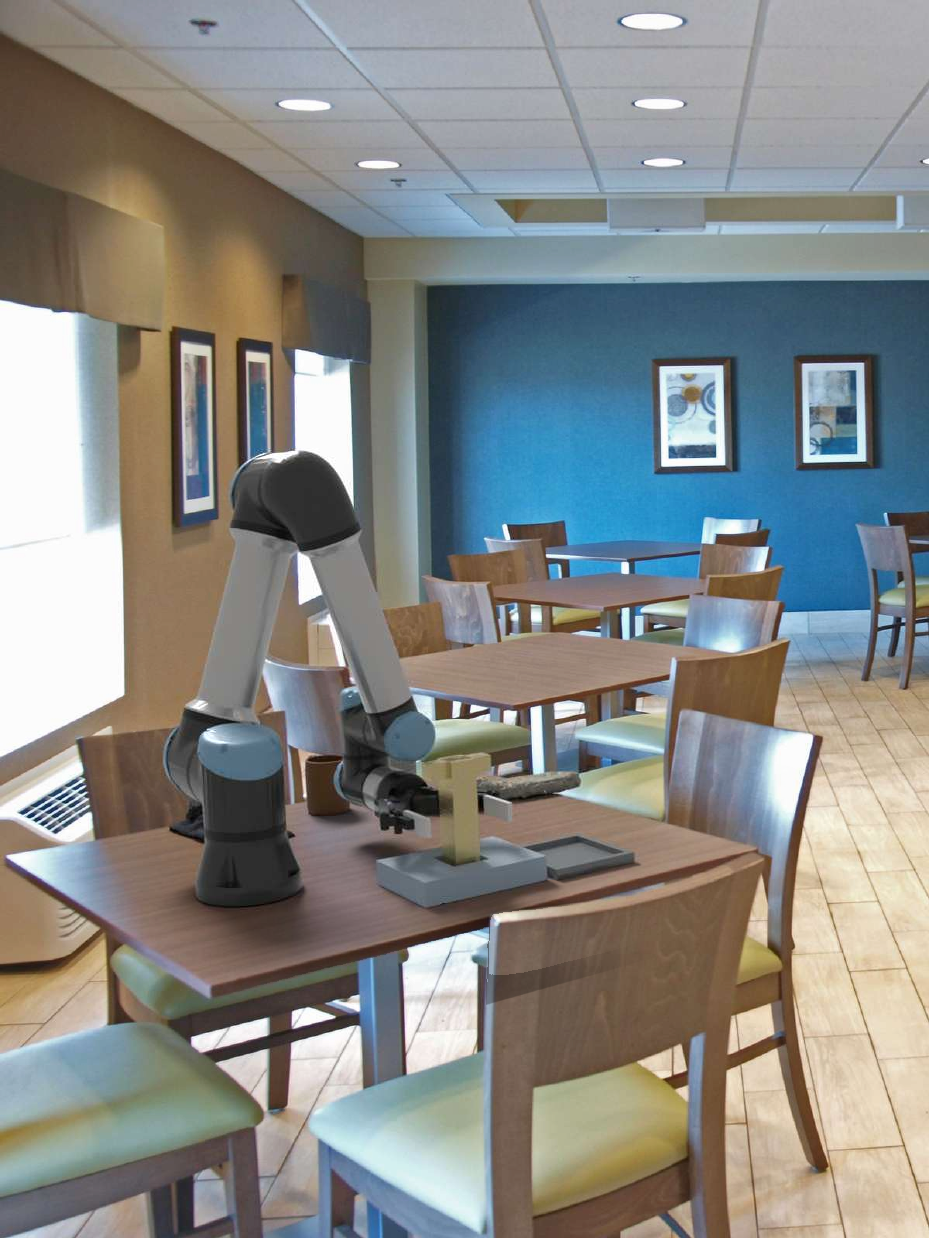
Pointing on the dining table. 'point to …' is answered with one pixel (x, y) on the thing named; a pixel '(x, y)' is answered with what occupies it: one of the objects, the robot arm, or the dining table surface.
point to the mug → (323, 785)
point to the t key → (458, 804)
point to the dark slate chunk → (196, 822)
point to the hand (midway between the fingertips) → (470, 820)
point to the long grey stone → (531, 784)
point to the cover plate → (460, 873)
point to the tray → (579, 855)
